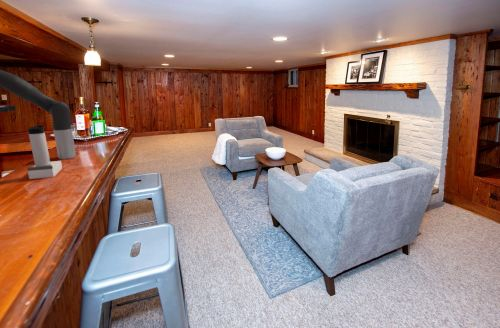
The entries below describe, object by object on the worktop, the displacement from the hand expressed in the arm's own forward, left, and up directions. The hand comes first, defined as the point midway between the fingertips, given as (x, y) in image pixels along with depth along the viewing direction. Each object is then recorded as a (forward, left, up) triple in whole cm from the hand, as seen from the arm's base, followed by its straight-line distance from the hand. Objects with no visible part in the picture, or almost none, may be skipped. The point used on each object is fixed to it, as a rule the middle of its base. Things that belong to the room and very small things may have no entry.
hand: (12, 108), depth 141 cm
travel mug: (+6, +10, -28) cm, 30 cm away
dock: (+4, +10, -32) cm, 34 cm away
